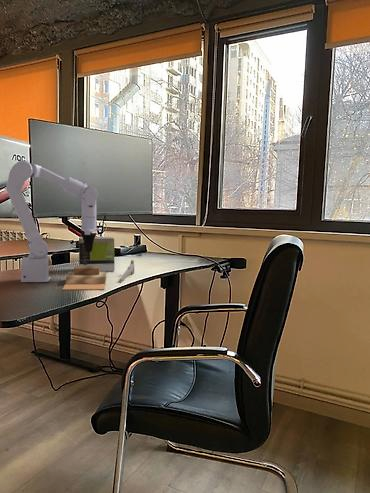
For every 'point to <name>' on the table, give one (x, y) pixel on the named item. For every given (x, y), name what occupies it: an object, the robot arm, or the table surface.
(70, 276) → the birch deck
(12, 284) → the table surface
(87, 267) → the walnut tile
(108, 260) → the tea box
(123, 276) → the caliper
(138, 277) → the table surface
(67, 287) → the terracotta mat
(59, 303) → the table surface
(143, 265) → the table surface
